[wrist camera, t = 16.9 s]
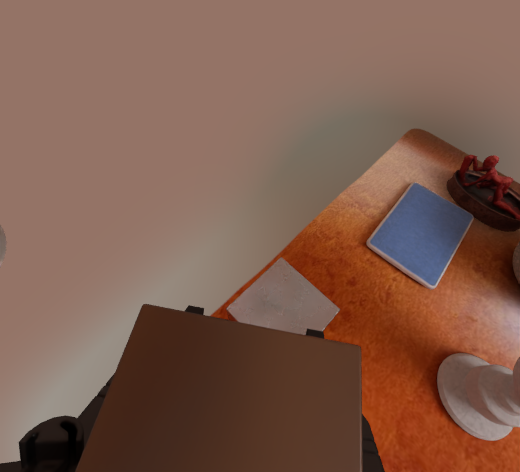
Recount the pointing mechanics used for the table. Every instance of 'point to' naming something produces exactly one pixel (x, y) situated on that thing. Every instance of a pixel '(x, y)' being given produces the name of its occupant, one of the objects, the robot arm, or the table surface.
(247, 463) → the block
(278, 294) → the square metal stool
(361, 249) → the table surface
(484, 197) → the figurine
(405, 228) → the tablet
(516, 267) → the planter
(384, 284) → the table surface
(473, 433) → the table lamp
